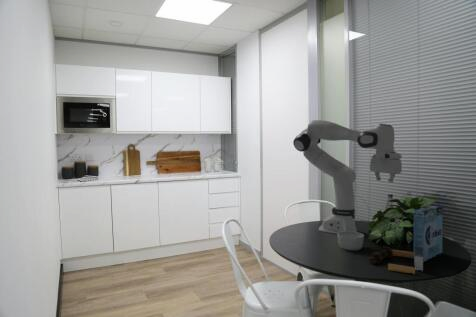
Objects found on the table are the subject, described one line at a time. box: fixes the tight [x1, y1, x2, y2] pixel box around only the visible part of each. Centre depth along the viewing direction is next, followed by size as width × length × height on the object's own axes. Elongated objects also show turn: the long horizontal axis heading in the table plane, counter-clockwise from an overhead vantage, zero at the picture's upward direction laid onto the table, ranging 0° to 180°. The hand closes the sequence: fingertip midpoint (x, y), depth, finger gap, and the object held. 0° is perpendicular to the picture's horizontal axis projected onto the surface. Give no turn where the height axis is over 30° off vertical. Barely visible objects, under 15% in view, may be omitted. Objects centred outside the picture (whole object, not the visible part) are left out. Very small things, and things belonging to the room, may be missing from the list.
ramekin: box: [336, 231, 365, 251], centre depth 169 cm, size 13×13×7 cm
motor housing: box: [387, 246, 424, 275], centre depth 144 cm, size 13×22×7 cm, turn 153°
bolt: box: [368, 245, 394, 265], centre depth 149 cm, size 6×5×15 cm
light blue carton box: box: [412, 205, 444, 263], centre depth 154 cm, size 20×5×23 cm, turn 126°
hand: (384, 181), depth 170 cm, fingers open, 8 cm apart
